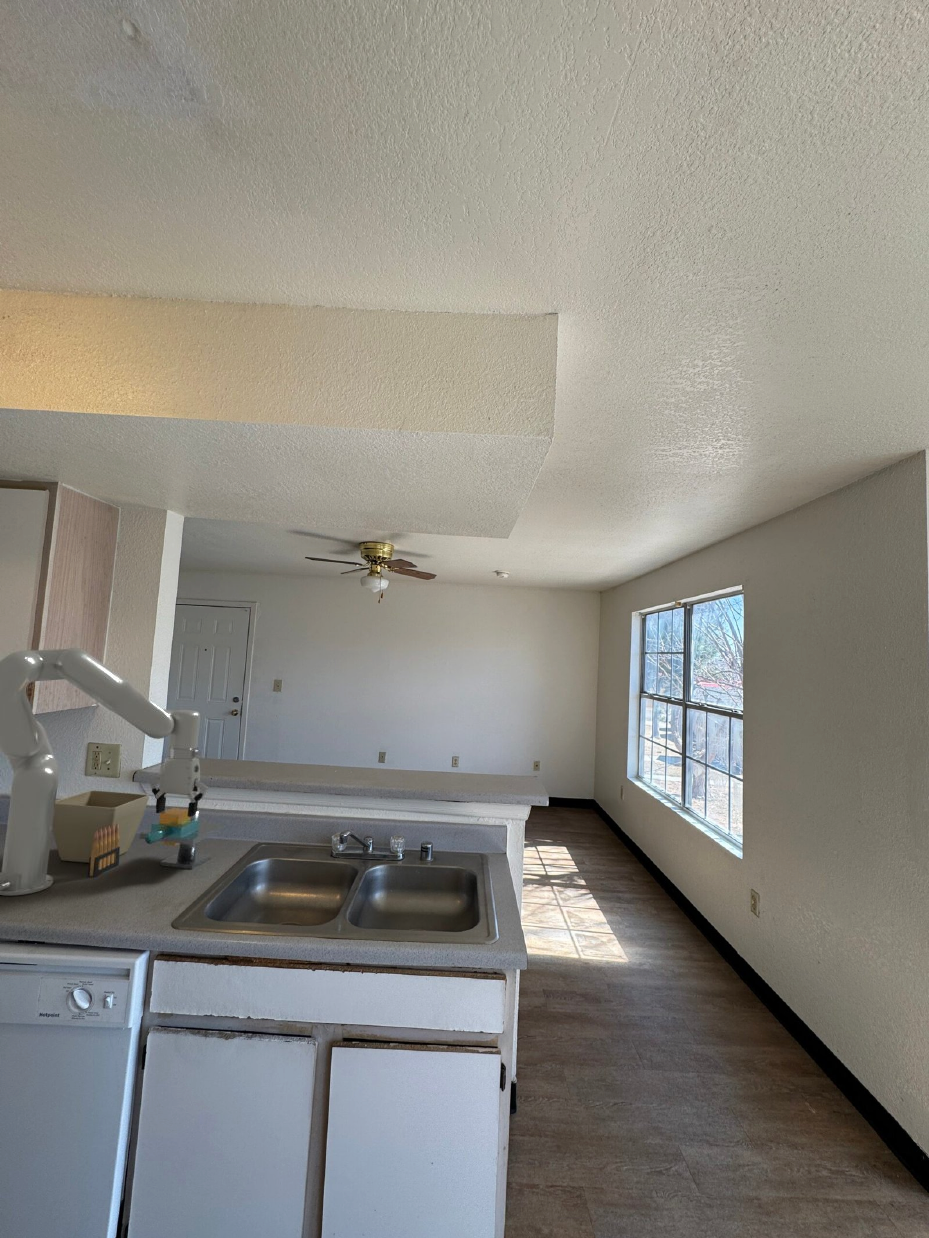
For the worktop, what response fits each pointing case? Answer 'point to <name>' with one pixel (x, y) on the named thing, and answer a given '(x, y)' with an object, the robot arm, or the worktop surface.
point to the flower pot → (95, 821)
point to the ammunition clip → (104, 851)
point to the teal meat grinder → (183, 840)
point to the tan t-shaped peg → (174, 819)
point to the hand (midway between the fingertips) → (175, 813)
